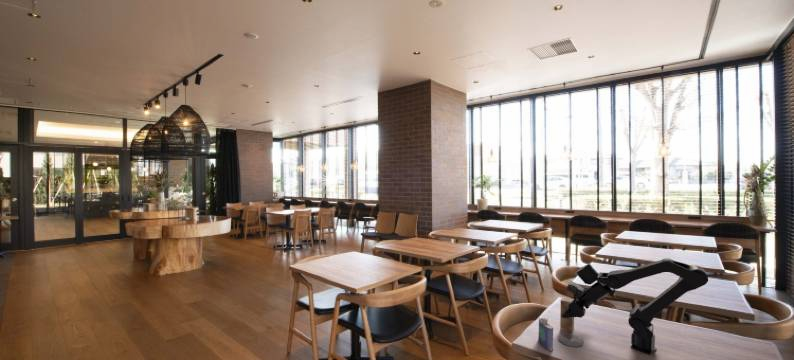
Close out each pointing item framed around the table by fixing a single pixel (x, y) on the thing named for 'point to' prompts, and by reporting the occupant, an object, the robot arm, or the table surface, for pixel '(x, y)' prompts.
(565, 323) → the walnut block
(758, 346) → the table surface
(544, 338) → the flask
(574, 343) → the slate coaster
